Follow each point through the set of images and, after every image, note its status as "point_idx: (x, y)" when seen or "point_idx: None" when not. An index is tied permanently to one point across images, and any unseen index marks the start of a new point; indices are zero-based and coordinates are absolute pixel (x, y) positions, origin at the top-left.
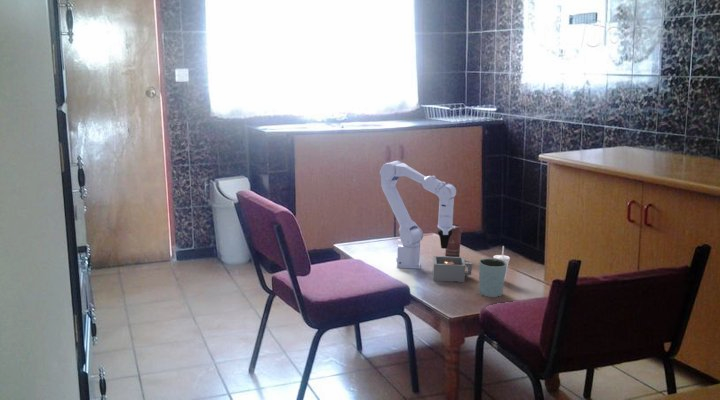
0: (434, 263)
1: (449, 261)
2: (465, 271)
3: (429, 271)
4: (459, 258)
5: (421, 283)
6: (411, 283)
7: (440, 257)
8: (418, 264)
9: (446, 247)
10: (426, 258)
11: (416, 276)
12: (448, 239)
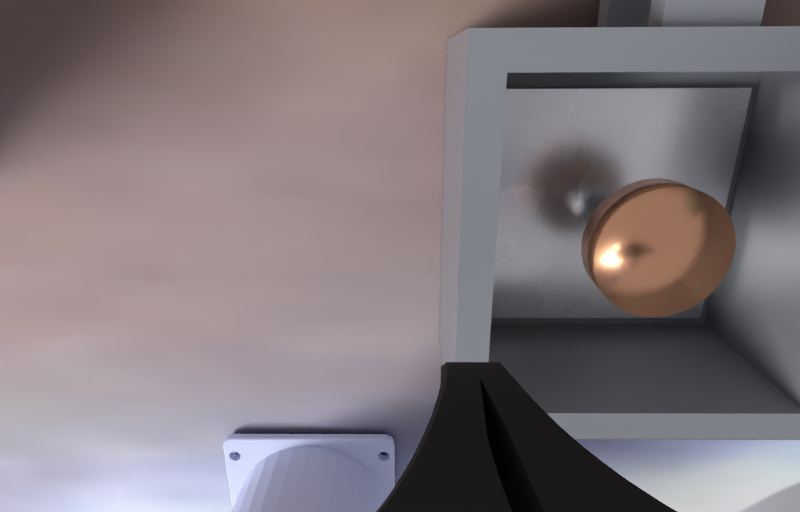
0: (795, 434)
1: (623, 247)
2: (619, 11)
3: None
4: (504, 100)
5: None
6: (782, 486)
7: (485, 358)
8: (340, 462)
9: (511, 376)
10: (34, 380)
11: (600, 455)
12: (615, 481)
